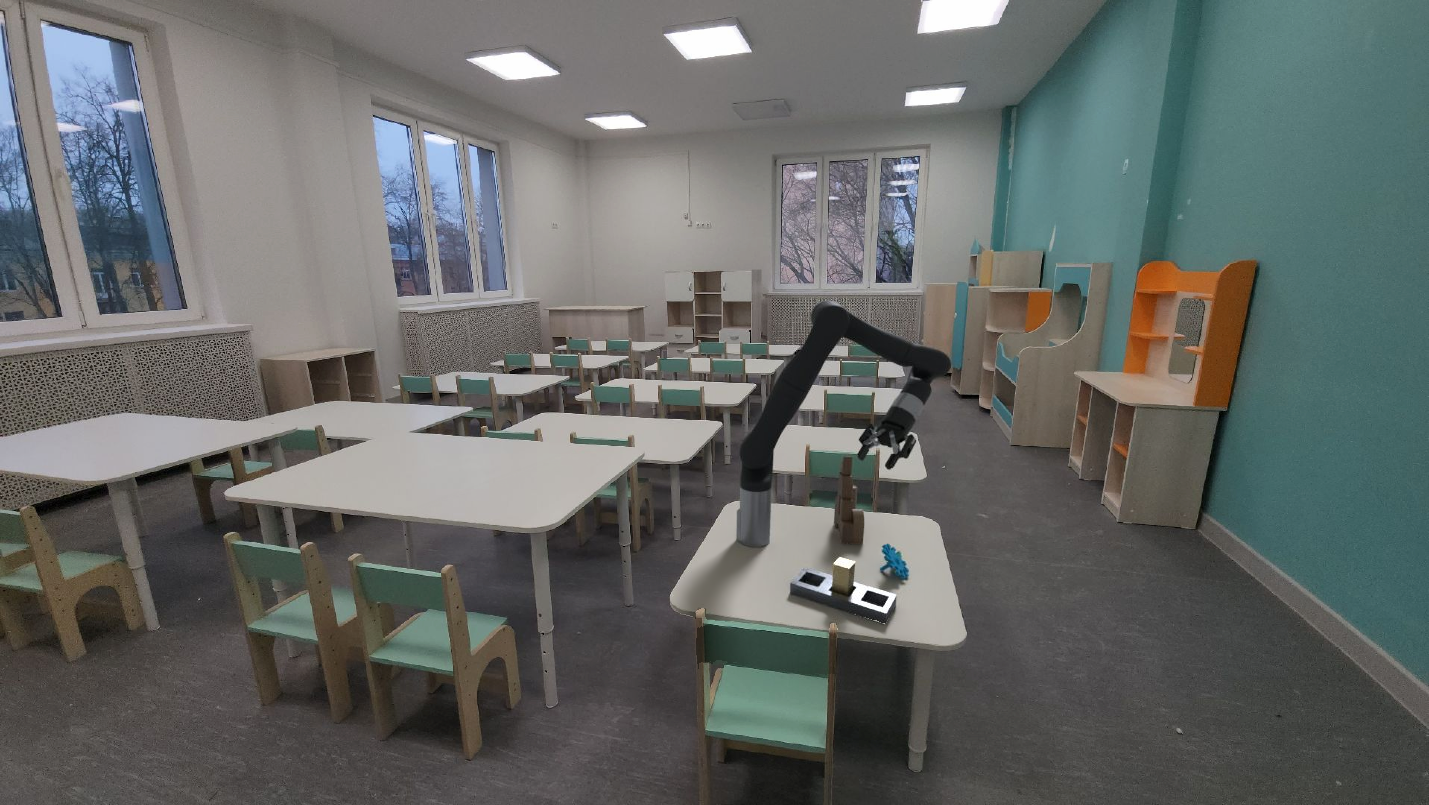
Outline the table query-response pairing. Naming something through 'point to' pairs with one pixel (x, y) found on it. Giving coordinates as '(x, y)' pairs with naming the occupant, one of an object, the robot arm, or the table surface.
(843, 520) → the wooden toy
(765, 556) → the table surface
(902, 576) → the gear
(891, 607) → the grey flat frame block
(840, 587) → the brass post
